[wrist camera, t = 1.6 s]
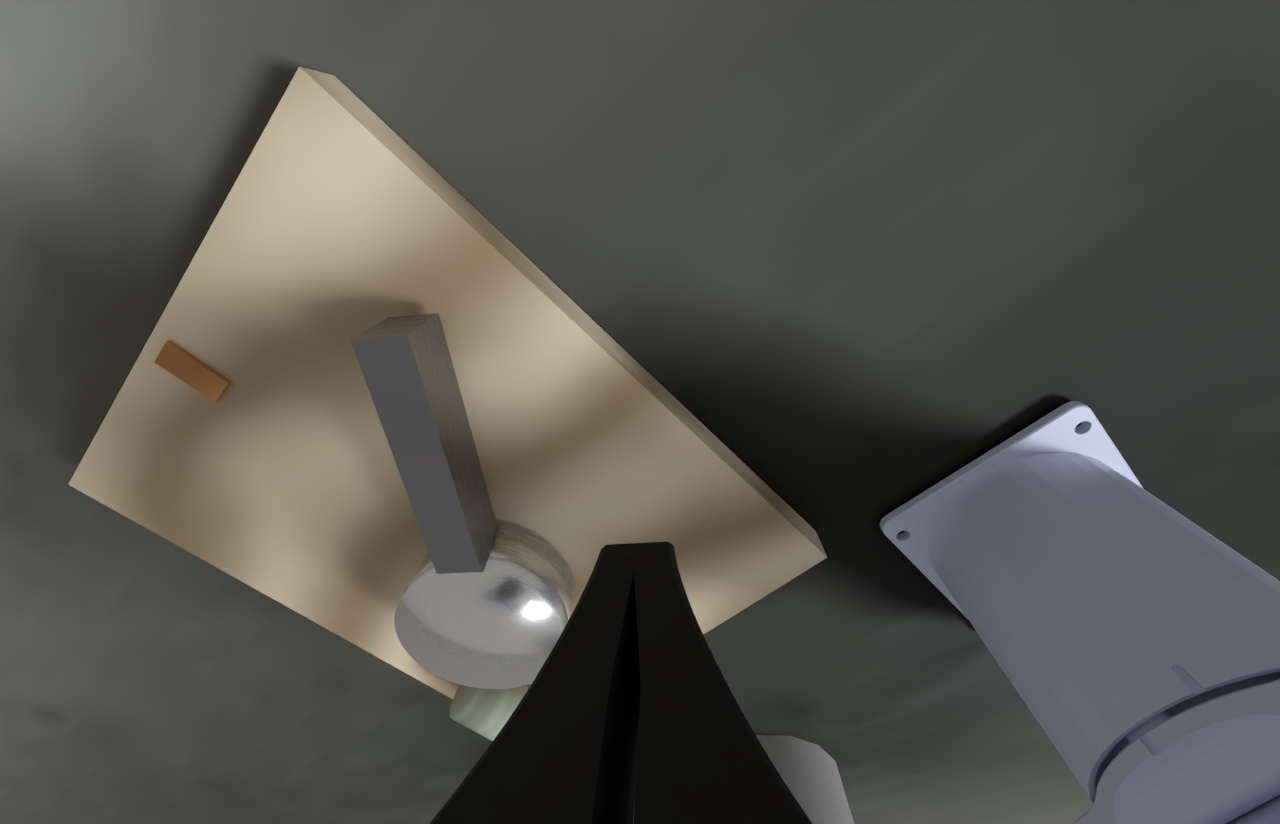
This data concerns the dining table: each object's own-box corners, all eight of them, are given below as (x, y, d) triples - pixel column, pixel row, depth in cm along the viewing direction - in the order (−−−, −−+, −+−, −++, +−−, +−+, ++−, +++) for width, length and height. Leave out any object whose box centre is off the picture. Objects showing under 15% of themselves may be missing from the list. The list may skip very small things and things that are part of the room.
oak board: (816, 531, 20) (849, 608, 17) (536, 712, 26) (518, 796, 23) (334, 75, 13) (223, 46, 10) (107, 462, 20) (-10, 527, 16)
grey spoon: (584, 632, 21) (576, 687, 19) (445, 637, 21) (422, 691, 19) (519, 303, 14) (495, 328, 12) (321, 319, 15) (265, 346, 13)
